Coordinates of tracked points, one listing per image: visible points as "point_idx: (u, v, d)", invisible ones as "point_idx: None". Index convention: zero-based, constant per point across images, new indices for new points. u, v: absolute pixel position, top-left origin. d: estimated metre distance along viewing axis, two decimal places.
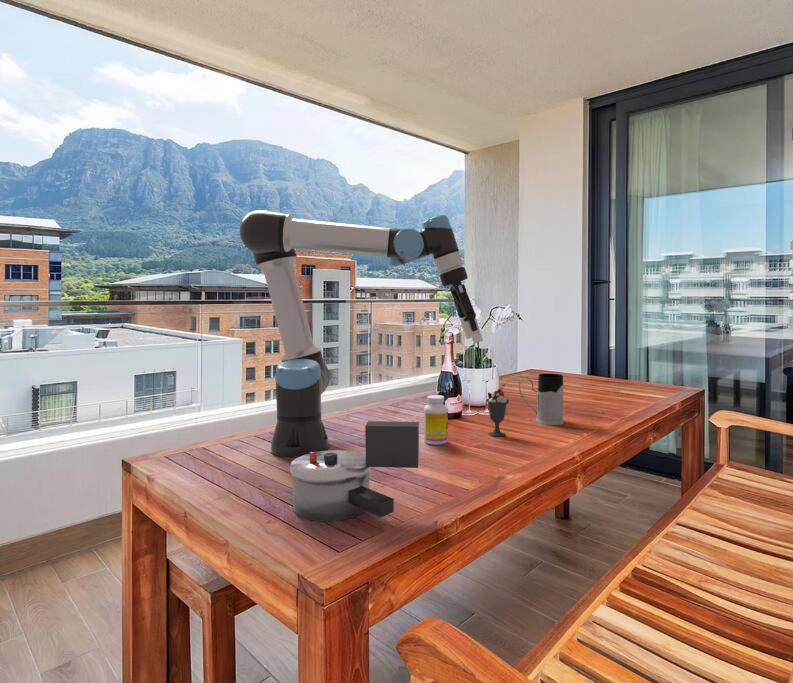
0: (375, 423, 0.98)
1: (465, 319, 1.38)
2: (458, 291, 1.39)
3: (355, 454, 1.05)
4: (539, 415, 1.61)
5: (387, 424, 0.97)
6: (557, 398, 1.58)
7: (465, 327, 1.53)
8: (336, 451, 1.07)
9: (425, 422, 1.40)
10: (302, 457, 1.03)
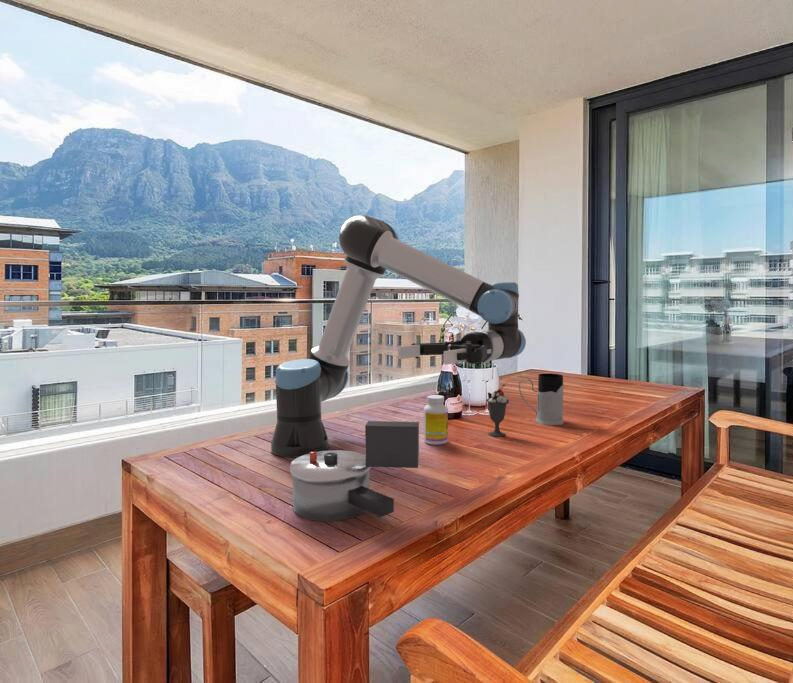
0: (375, 423, 0.98)
1: (472, 347, 1.08)
2: (488, 347, 1.14)
3: (355, 454, 1.05)
4: (539, 415, 1.61)
5: (387, 424, 0.97)
6: (557, 398, 1.58)
7: (411, 349, 1.16)
8: (336, 451, 1.07)
9: (425, 422, 1.40)
10: (302, 457, 1.03)
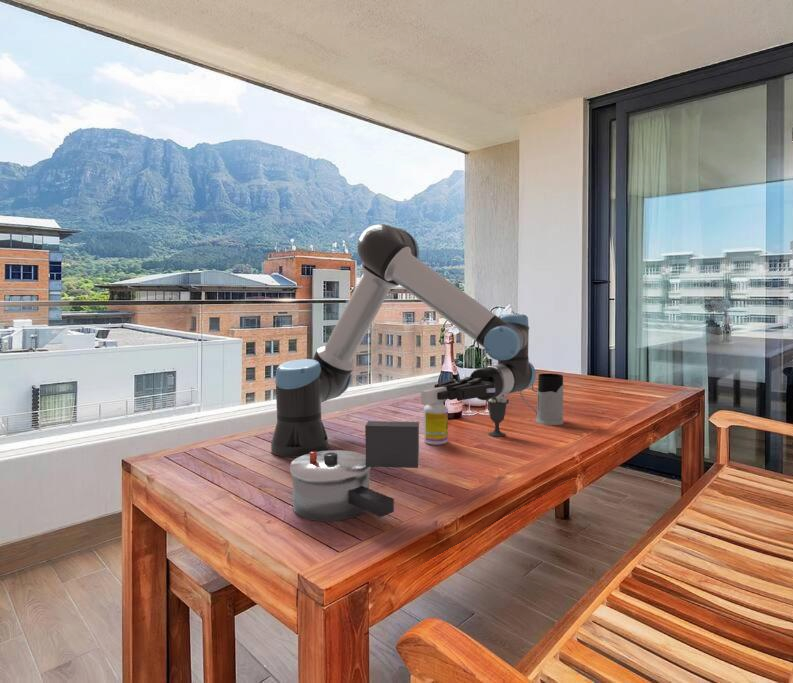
0: (375, 423, 0.98)
1: (451, 386, 1.08)
2: (489, 386, 1.11)
3: (355, 454, 1.05)
4: (539, 415, 1.61)
5: (387, 424, 0.97)
6: (557, 398, 1.58)
7: None
8: (336, 451, 1.07)
9: (425, 422, 1.40)
10: (302, 457, 1.03)
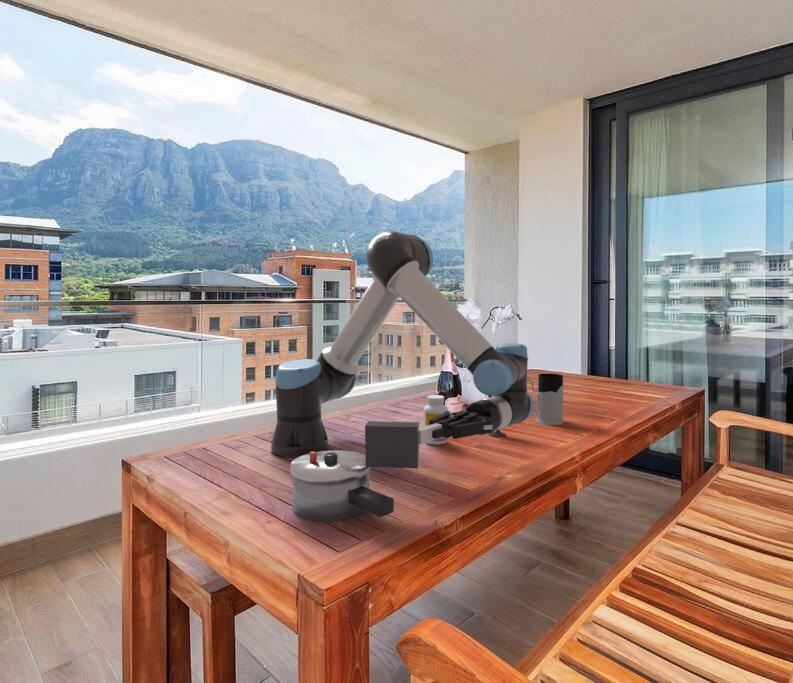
0: (375, 423, 0.98)
1: (446, 424, 1.03)
2: (486, 423, 1.06)
3: (355, 454, 1.05)
4: (539, 415, 1.61)
5: (387, 424, 0.97)
6: (557, 398, 1.58)
7: None
8: (337, 451, 1.07)
9: (425, 422, 1.40)
10: (302, 457, 1.03)
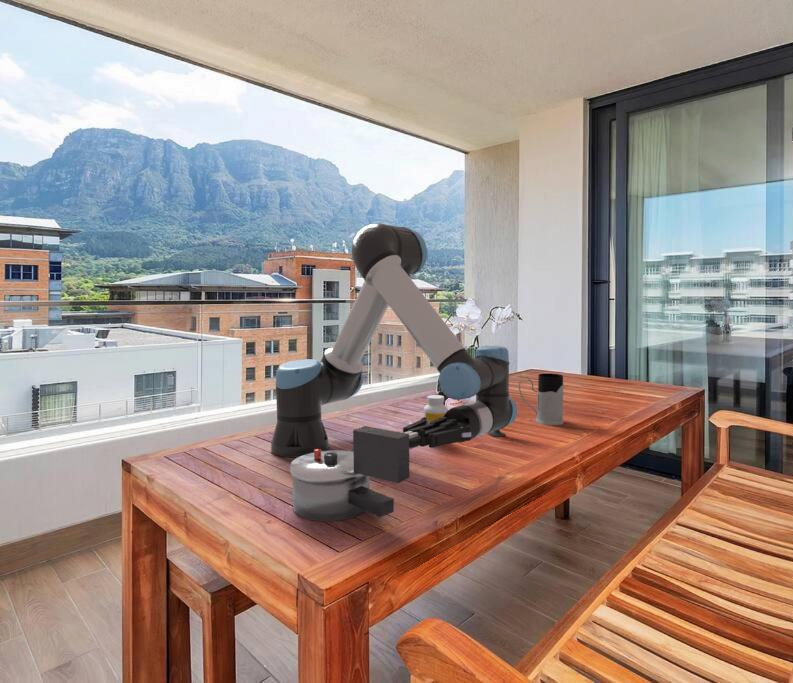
0: (366, 429, 0.94)
1: (423, 432, 0.97)
2: (464, 430, 1.00)
3: None
4: (539, 415, 1.61)
5: (375, 432, 0.92)
6: (557, 398, 1.58)
7: None
8: (352, 452, 1.06)
9: None
10: None
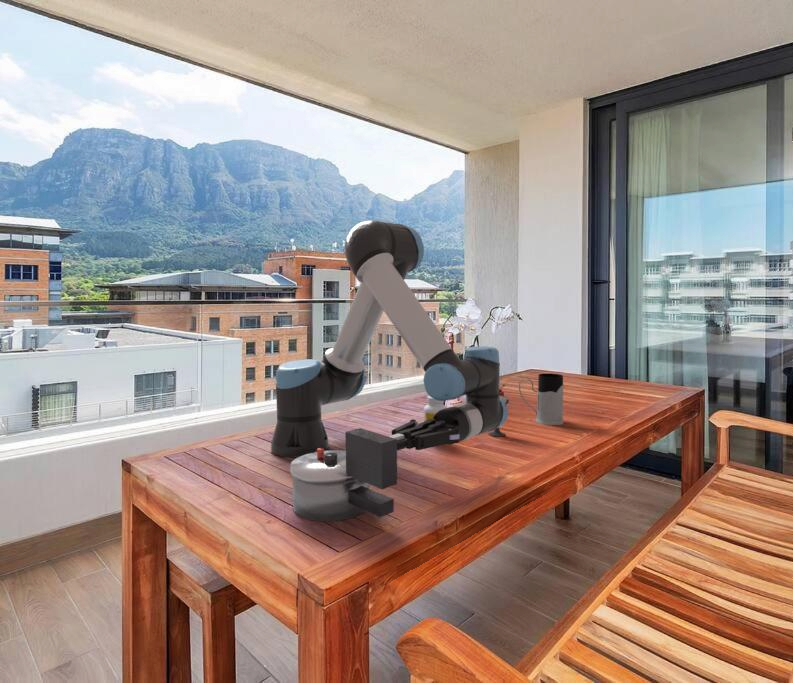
0: (358, 431, 0.92)
1: (409, 434, 0.96)
2: (452, 433, 0.99)
3: None
4: (539, 415, 1.61)
5: (364, 434, 0.90)
6: (557, 398, 1.58)
7: None
8: None
9: None
10: None
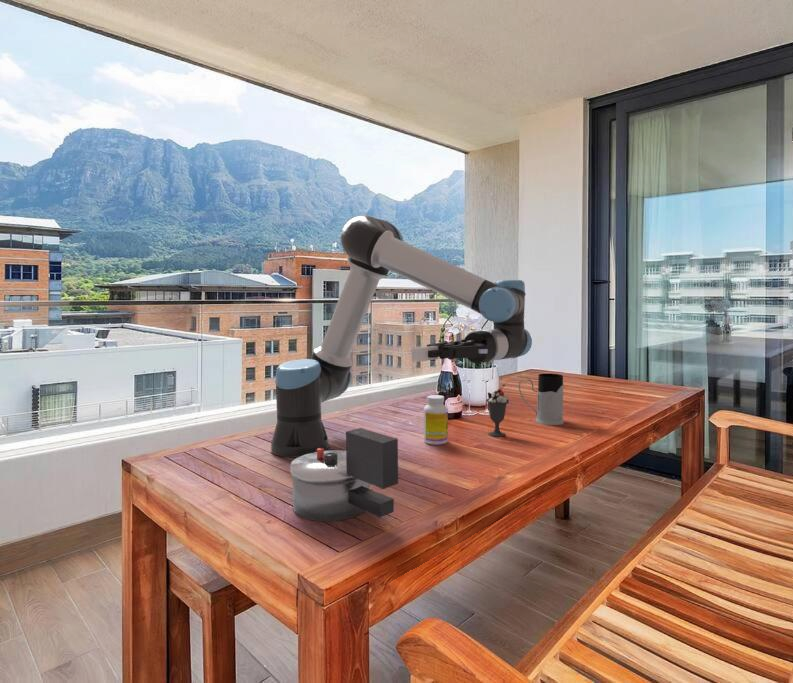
0: (359, 431, 0.93)
1: (442, 345, 1.07)
2: (481, 347, 1.10)
3: None
4: (539, 415, 1.61)
5: (365, 434, 0.90)
6: (557, 398, 1.58)
7: None
8: None
9: (425, 422, 1.40)
10: None
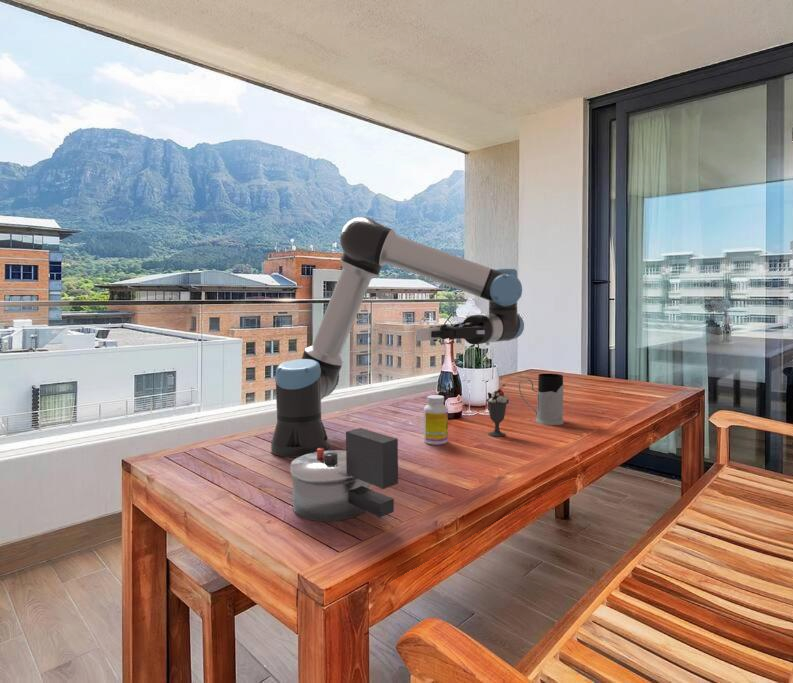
0: (359, 431, 0.93)
1: (444, 326, 1.18)
2: (479, 328, 1.21)
3: None
4: (539, 415, 1.61)
5: (365, 434, 0.90)
6: (557, 398, 1.58)
7: None
8: None
9: (425, 422, 1.40)
10: None
